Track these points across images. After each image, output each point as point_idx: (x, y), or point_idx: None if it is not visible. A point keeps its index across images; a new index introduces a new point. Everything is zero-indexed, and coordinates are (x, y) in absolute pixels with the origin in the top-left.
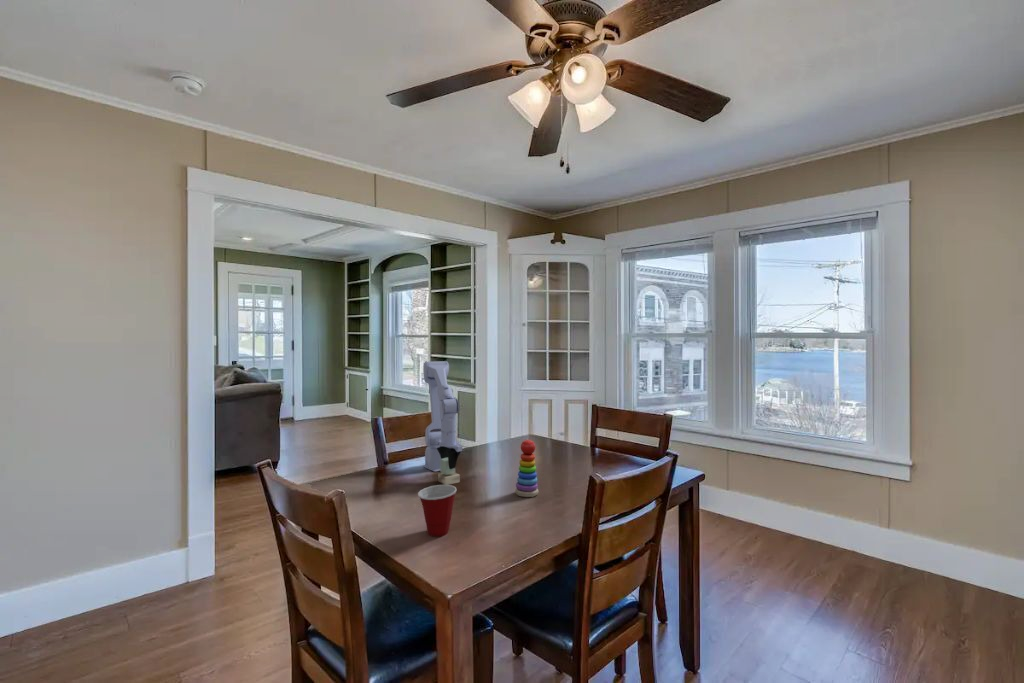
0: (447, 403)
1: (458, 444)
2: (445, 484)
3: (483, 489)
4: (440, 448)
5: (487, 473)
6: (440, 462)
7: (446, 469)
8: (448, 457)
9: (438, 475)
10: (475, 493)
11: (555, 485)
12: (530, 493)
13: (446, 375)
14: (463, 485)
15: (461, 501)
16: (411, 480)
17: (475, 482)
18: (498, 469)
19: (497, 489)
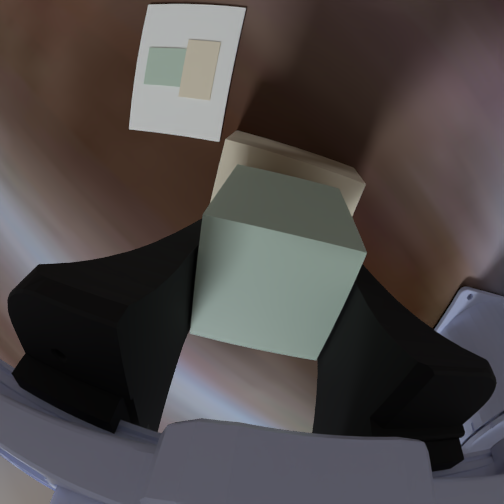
0: None
1: (16, 466)
2: (239, 131)
3: (46, 220)
4: (419, 399)
5: (211, 384)
6: (352, 228)
7: (227, 182)
8: (157, 265)
9: (354, 177)
10: (28, 156)
11: (12, 353)
12: None
13: None
14: (145, 200)
15: (8, 47)
16: (496, 90)
17: None
18: None
19: (26, 254)
